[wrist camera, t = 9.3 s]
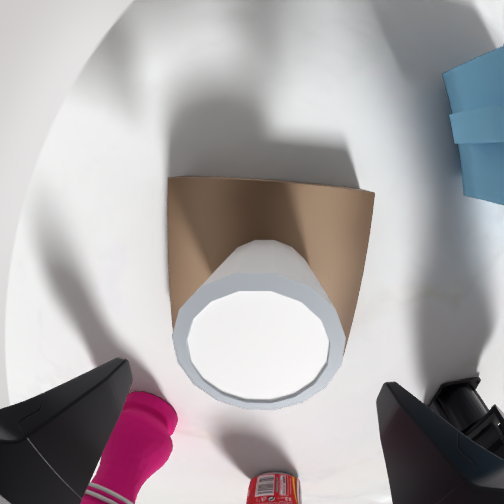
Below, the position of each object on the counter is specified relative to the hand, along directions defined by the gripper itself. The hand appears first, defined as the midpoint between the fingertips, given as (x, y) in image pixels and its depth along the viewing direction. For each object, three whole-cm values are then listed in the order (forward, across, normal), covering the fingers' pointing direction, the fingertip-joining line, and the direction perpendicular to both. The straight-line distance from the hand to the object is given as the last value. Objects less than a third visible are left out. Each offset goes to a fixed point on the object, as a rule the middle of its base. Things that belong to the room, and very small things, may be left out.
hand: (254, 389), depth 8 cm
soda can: (+12, -4, +31) cm, 33 cm away
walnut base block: (+12, 0, 0) cm, 12 cm away
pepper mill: (+12, +11, +18) cm, 24 cm away
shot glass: (+9, 0, 0) cm, 9 cm away
